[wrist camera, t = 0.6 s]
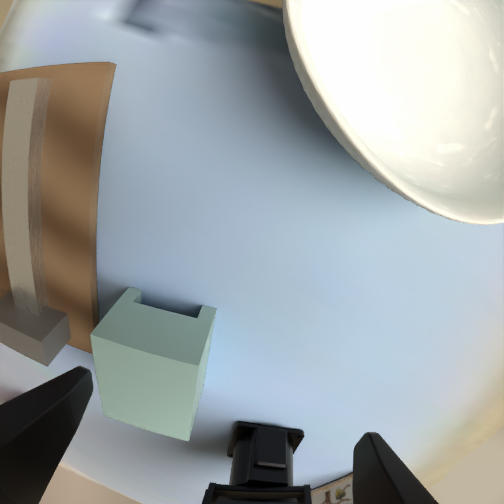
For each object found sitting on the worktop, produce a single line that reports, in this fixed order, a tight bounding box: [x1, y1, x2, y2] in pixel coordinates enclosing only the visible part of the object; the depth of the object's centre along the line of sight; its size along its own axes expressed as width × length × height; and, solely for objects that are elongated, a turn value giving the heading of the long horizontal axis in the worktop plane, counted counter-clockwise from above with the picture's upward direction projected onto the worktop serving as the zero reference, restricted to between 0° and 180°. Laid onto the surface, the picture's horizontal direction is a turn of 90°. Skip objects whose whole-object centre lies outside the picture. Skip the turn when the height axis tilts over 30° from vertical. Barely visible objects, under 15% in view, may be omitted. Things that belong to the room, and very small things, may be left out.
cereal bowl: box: [282, 0, 504, 225], centre depth 11 cm, size 17×17×7 cm
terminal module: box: [90, 287, 217, 441], centre depth 20 cm, size 8×6×6 cm
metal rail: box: [2, 77, 52, 316], centre depth 18 cm, size 20×3×2 cm, turn 168°
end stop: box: [0, 291, 71, 366], centre depth 20 cm, size 2×7×4 cm, turn 79°
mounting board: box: [0, 62, 116, 354], centre depth 19 cm, size 22×12×1 cm, turn 168°
